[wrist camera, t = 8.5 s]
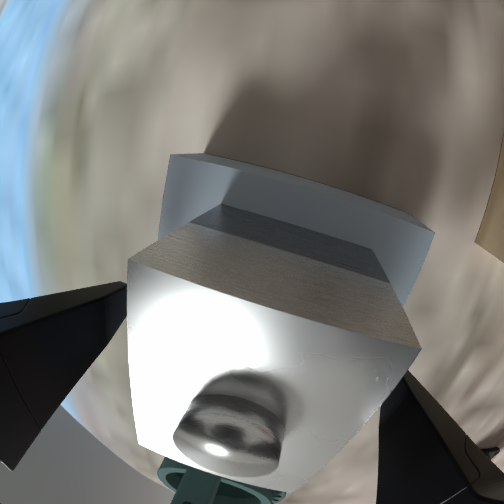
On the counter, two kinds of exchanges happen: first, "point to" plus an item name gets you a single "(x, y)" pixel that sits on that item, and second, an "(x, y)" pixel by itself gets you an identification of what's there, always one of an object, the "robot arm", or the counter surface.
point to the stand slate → (296, 210)
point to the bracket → (211, 487)
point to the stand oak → (494, 215)
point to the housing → (260, 346)
